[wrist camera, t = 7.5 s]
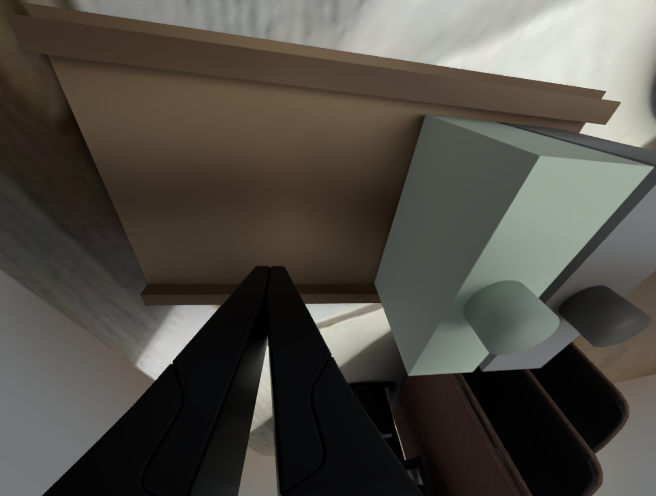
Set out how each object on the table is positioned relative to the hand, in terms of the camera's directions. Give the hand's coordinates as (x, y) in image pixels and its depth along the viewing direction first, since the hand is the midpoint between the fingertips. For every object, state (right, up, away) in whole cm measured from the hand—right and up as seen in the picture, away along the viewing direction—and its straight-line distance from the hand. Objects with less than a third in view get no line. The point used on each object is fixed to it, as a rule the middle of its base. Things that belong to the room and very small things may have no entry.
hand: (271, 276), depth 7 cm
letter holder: (+15, -12, +19) cm, 27 cm away
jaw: (+6, +2, +5) cm, 8 cm away
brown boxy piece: (+2, +3, +5) cm, 7 cm away
